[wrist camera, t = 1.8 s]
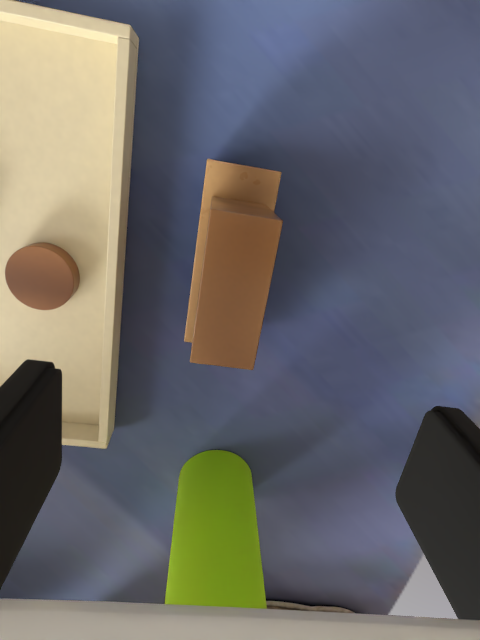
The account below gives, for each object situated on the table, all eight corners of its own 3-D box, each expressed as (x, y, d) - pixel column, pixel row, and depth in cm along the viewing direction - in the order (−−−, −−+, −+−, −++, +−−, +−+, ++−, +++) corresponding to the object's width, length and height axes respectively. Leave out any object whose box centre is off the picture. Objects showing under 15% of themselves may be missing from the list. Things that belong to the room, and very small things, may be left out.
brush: (187, 323, 28) (174, 394, 19) (208, 158, 24) (203, 158, 15) (244, 331, 28) (257, 404, 20) (274, 170, 24) (304, 176, 16)
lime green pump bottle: (187, 519, 34) (153, 948, 16) (173, 454, 32) (113, 874, 13) (256, 510, 34) (303, 927, 16) (248, 445, 32) (293, 850, 13)
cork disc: (12, 237, 24) (3, 241, 23) (80, 247, 25) (74, 251, 24) (15, 299, 26) (6, 305, 25) (79, 307, 26) (73, 314, 25)
